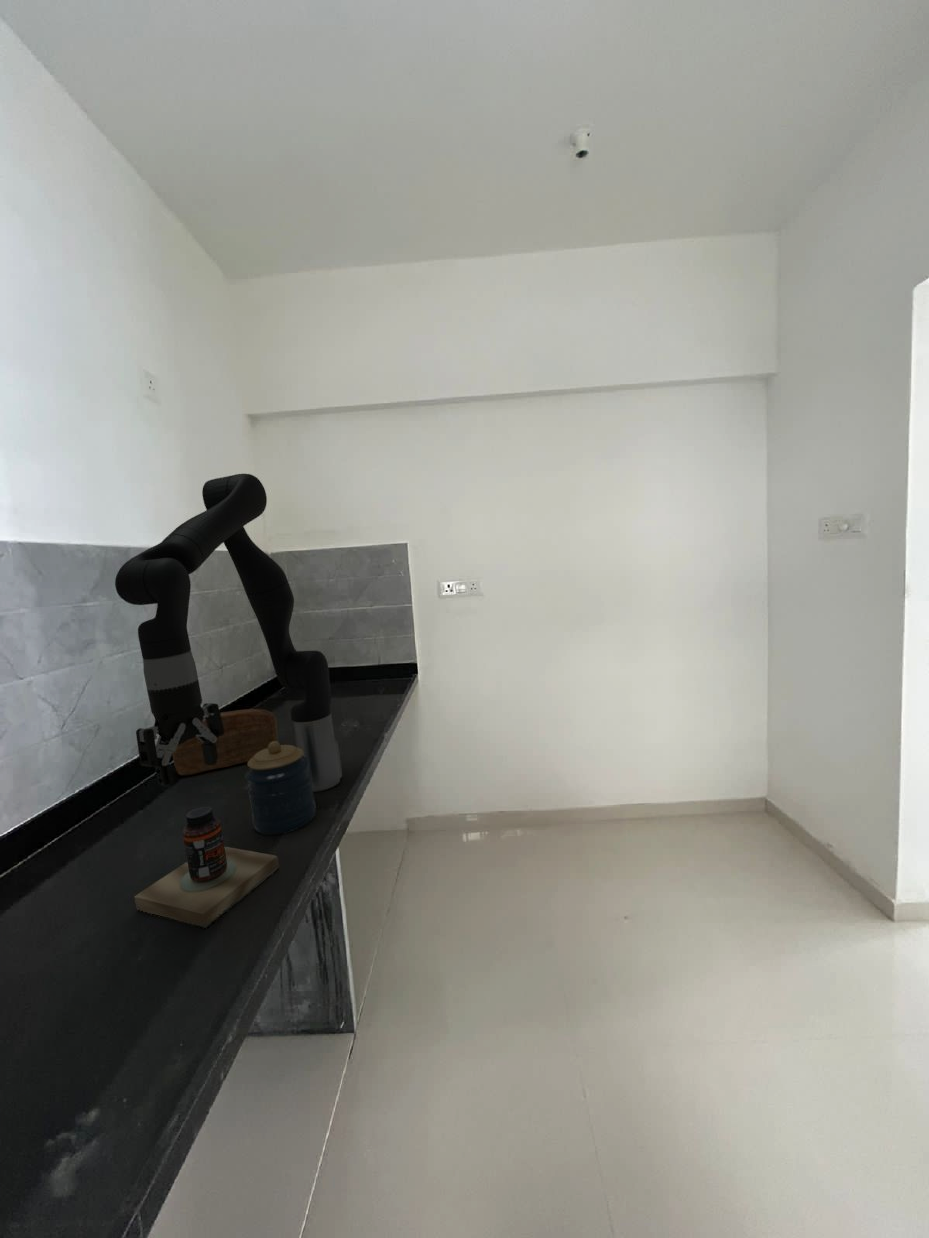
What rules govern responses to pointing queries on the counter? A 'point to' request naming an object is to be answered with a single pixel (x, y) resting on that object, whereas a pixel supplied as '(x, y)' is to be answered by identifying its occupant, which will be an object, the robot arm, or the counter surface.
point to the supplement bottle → (204, 845)
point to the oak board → (205, 888)
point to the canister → (280, 789)
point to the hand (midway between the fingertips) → (190, 774)
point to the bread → (229, 741)
